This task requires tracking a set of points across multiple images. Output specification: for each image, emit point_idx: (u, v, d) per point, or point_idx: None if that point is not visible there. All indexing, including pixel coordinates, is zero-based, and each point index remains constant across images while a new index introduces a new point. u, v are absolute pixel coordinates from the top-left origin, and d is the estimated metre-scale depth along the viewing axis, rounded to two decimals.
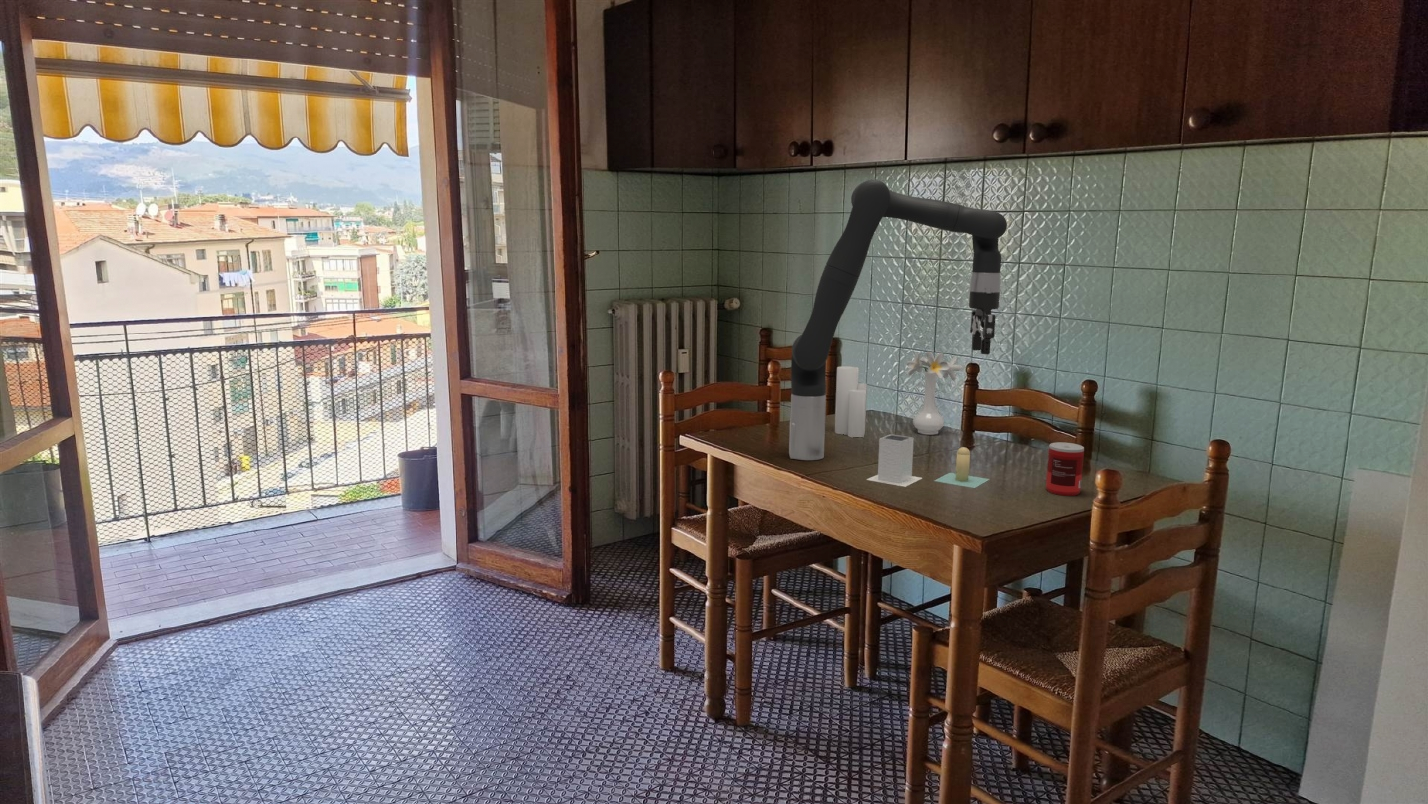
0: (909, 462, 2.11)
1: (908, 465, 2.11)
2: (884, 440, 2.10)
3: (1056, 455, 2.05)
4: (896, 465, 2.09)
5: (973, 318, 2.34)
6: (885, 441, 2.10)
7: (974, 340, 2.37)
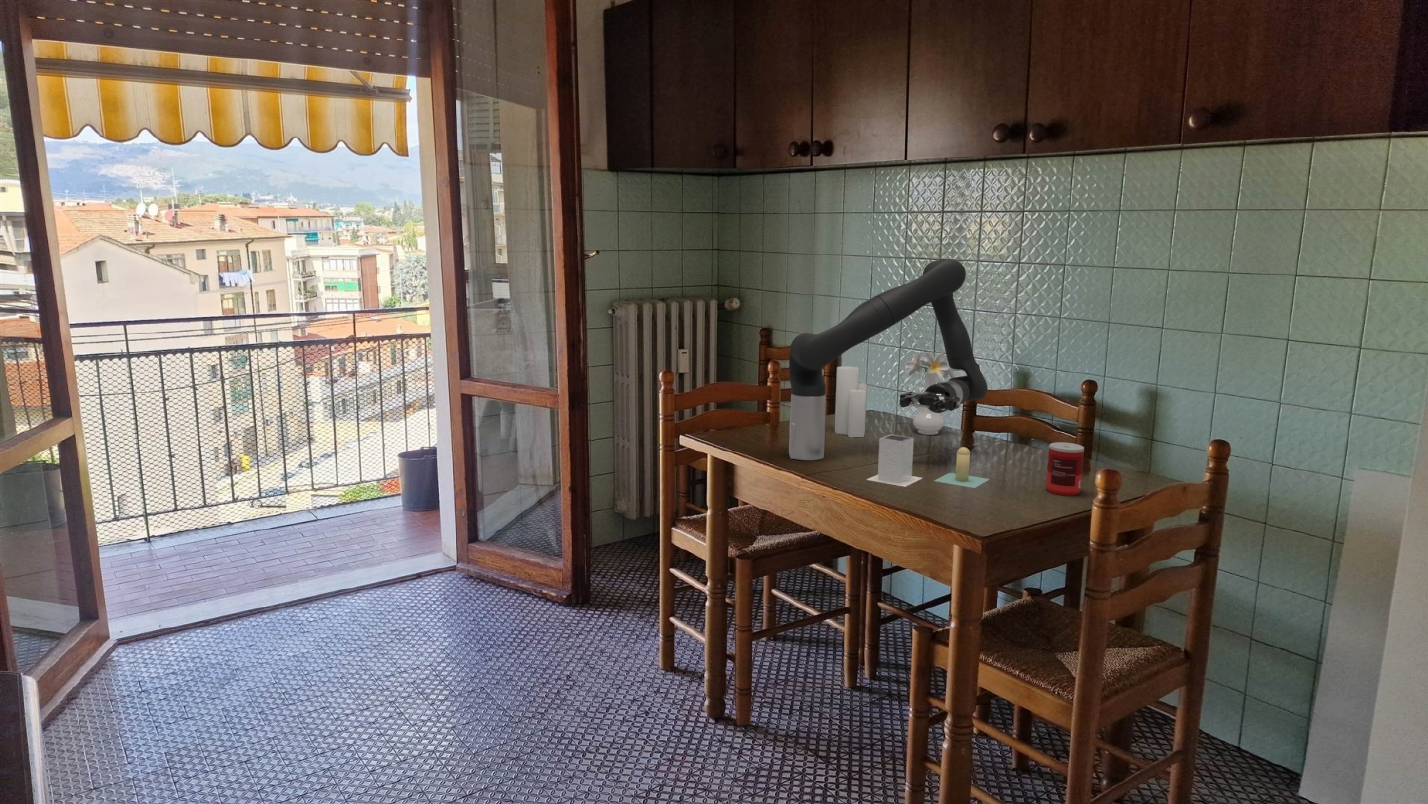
0: (909, 462, 2.11)
1: (908, 465, 2.11)
2: (884, 440, 2.10)
3: (1056, 455, 2.05)
4: (896, 465, 2.09)
5: (925, 392, 2.26)
6: (885, 441, 2.10)
7: (907, 399, 2.23)
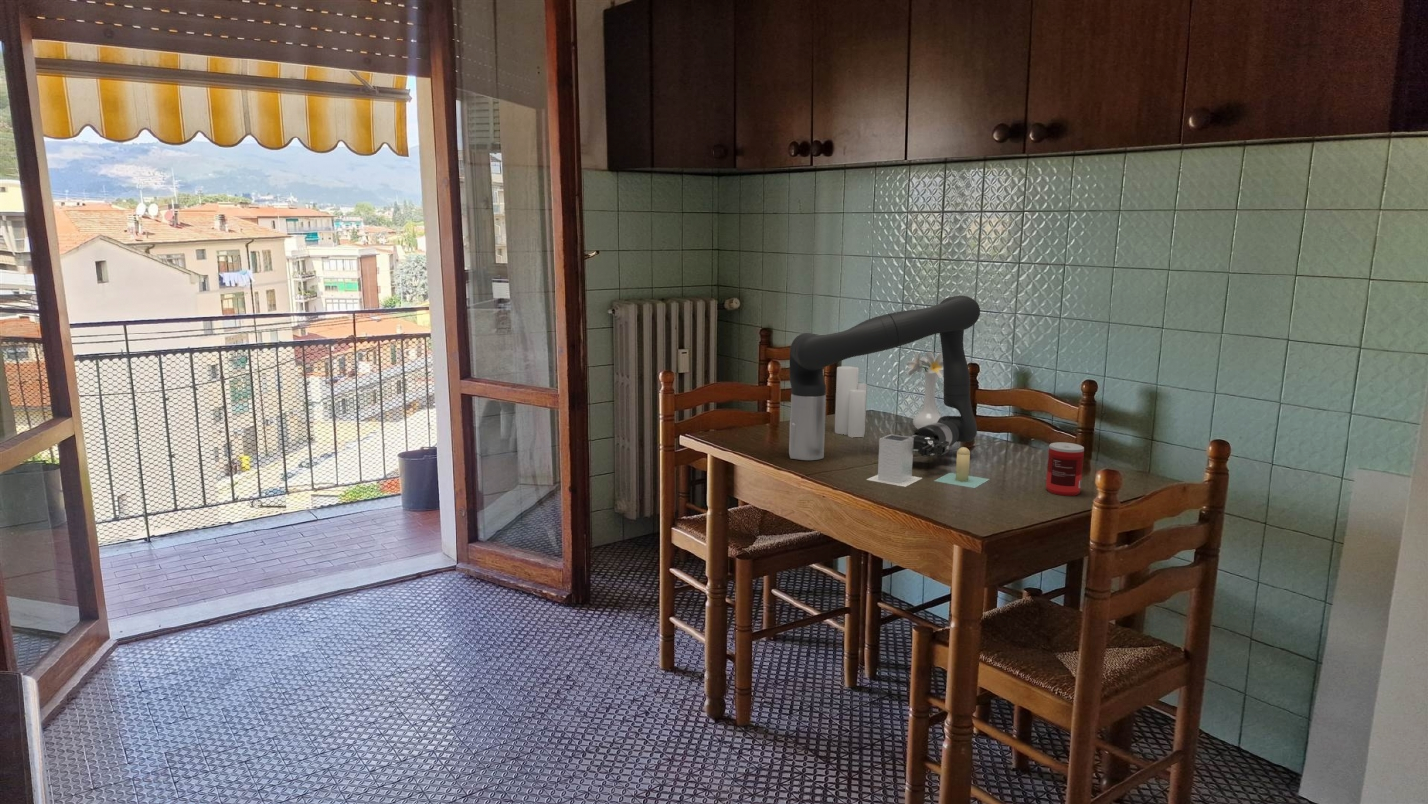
0: (909, 462, 2.11)
1: (908, 465, 2.11)
2: (884, 440, 2.10)
3: (1056, 455, 2.05)
4: (896, 465, 2.09)
5: (914, 435, 2.24)
6: (885, 441, 2.10)
7: None
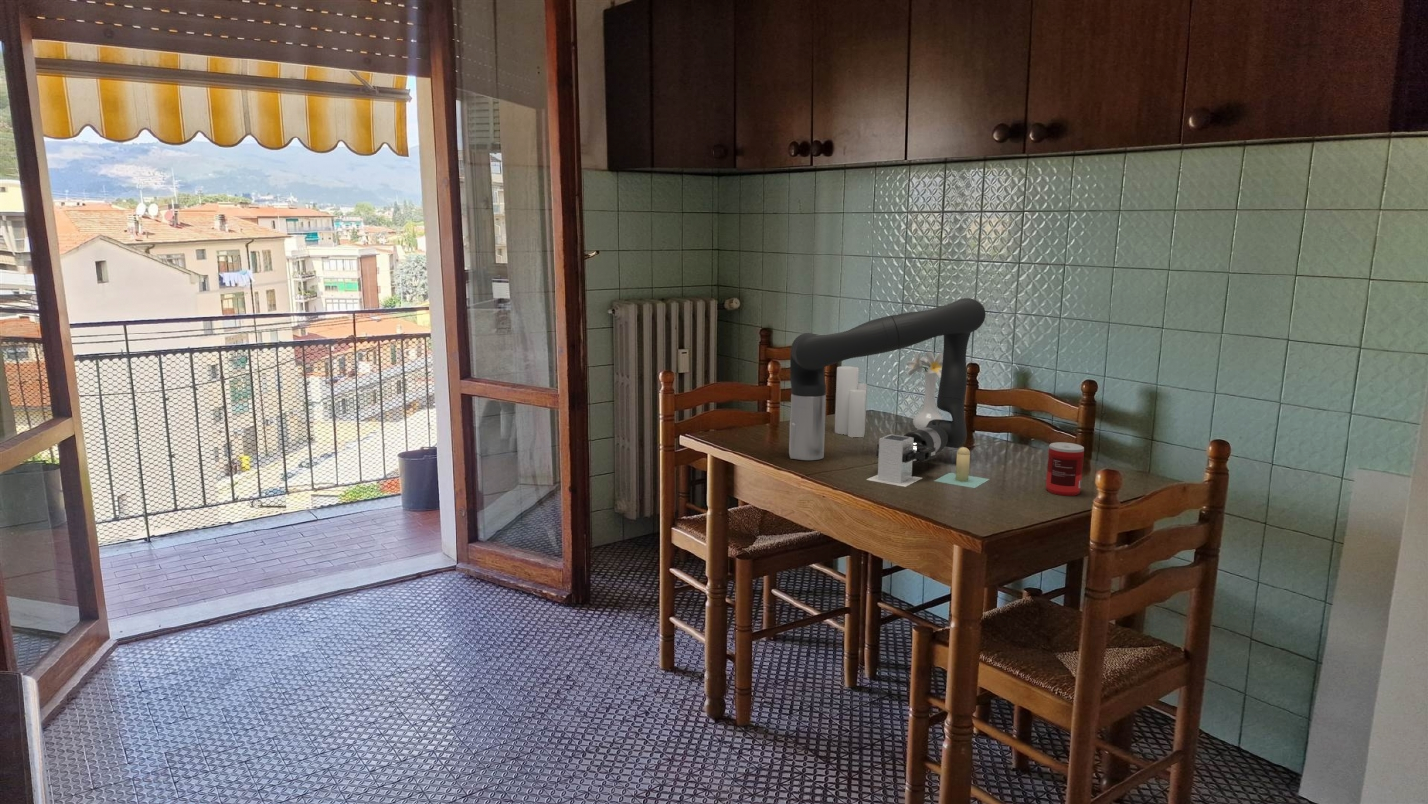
0: (909, 462, 2.11)
1: (908, 465, 2.11)
2: (884, 440, 2.10)
3: (1056, 455, 2.05)
4: (896, 465, 2.09)
5: None
6: (885, 441, 2.10)
7: None
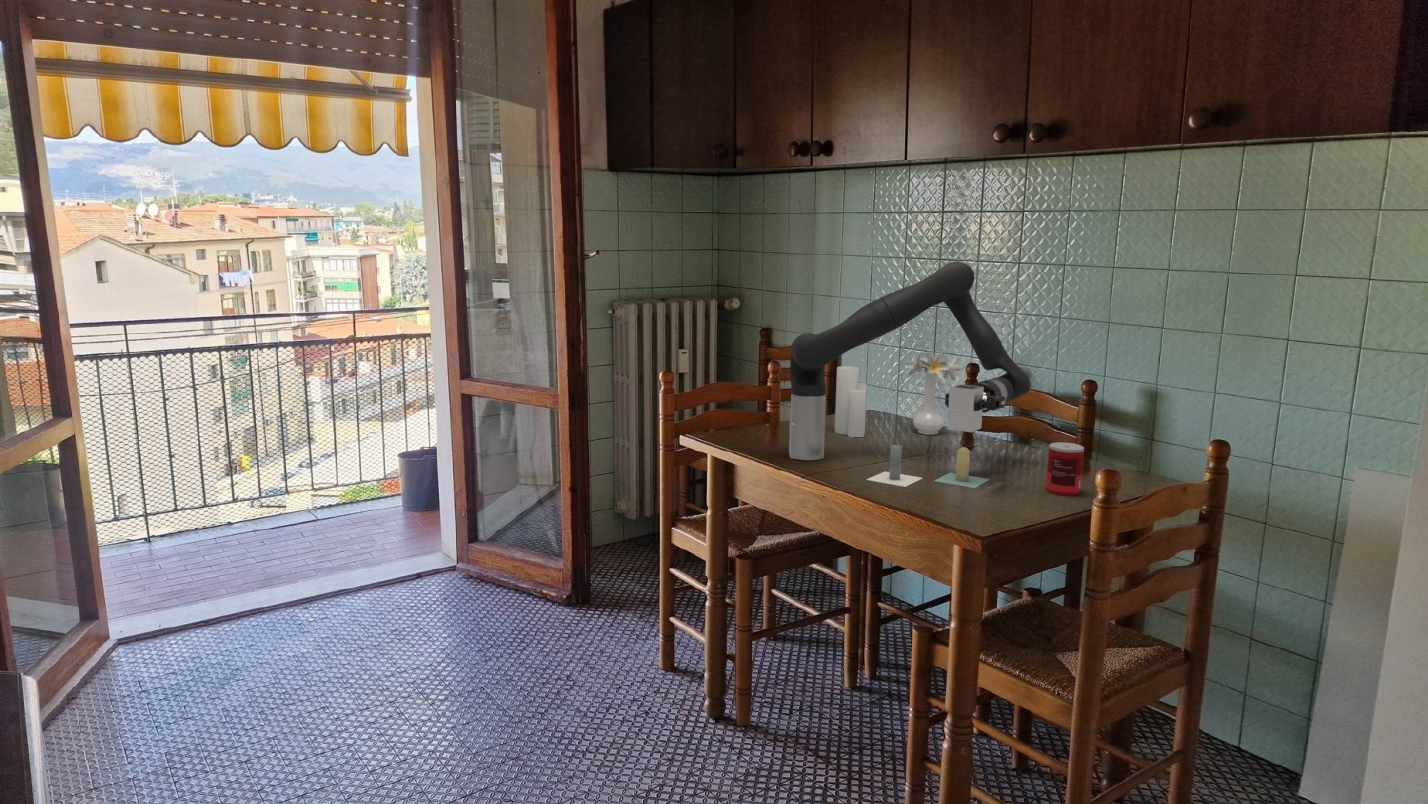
0: (979, 411, 2.09)
1: (978, 414, 2.08)
2: (954, 389, 2.07)
3: (1056, 455, 2.05)
4: (967, 414, 2.06)
5: None
6: (955, 390, 2.07)
7: None
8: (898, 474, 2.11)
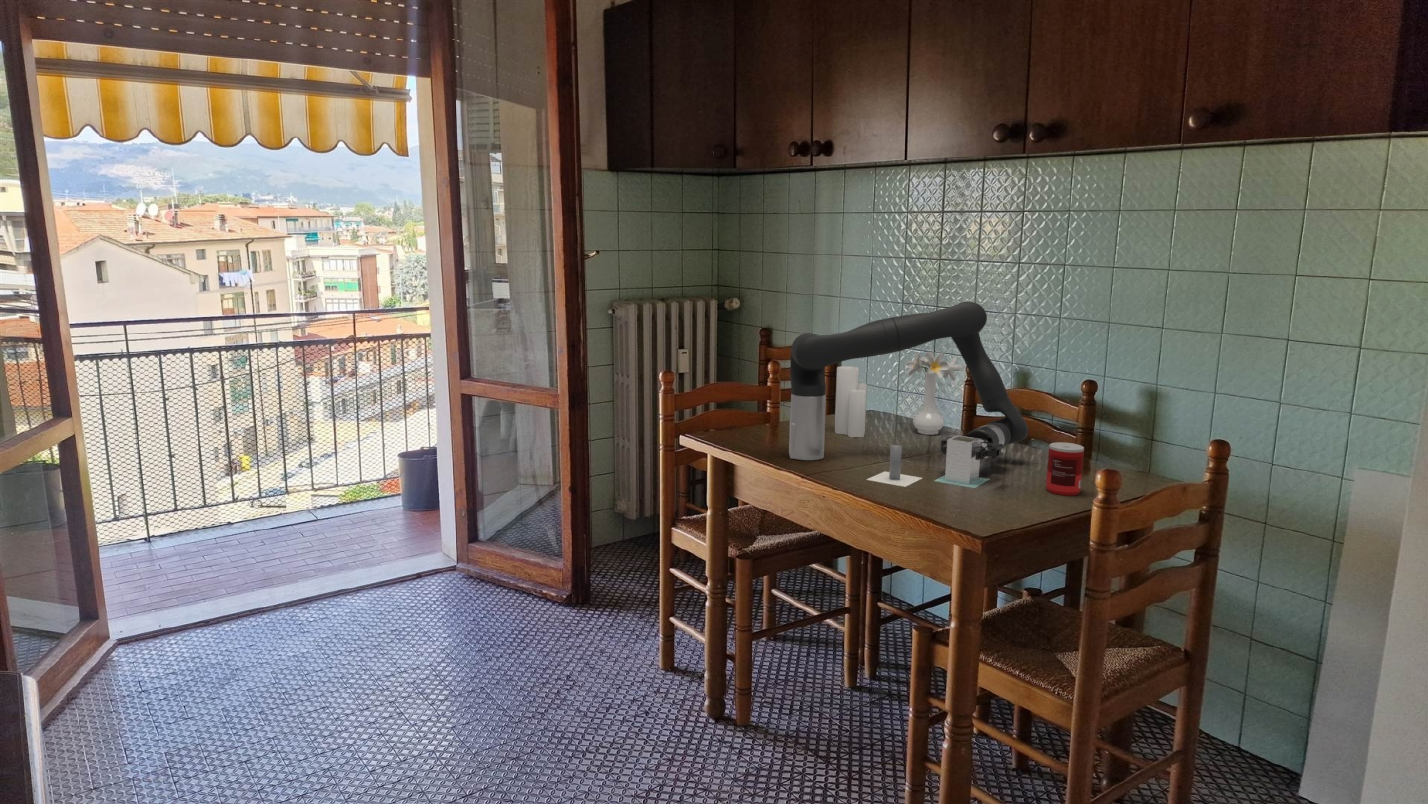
0: (977, 463, 2.11)
1: (976, 466, 2.11)
2: (952, 441, 2.09)
3: (1056, 455, 2.05)
4: (964, 466, 2.08)
5: None
6: (953, 442, 2.09)
7: None
8: (898, 474, 2.11)
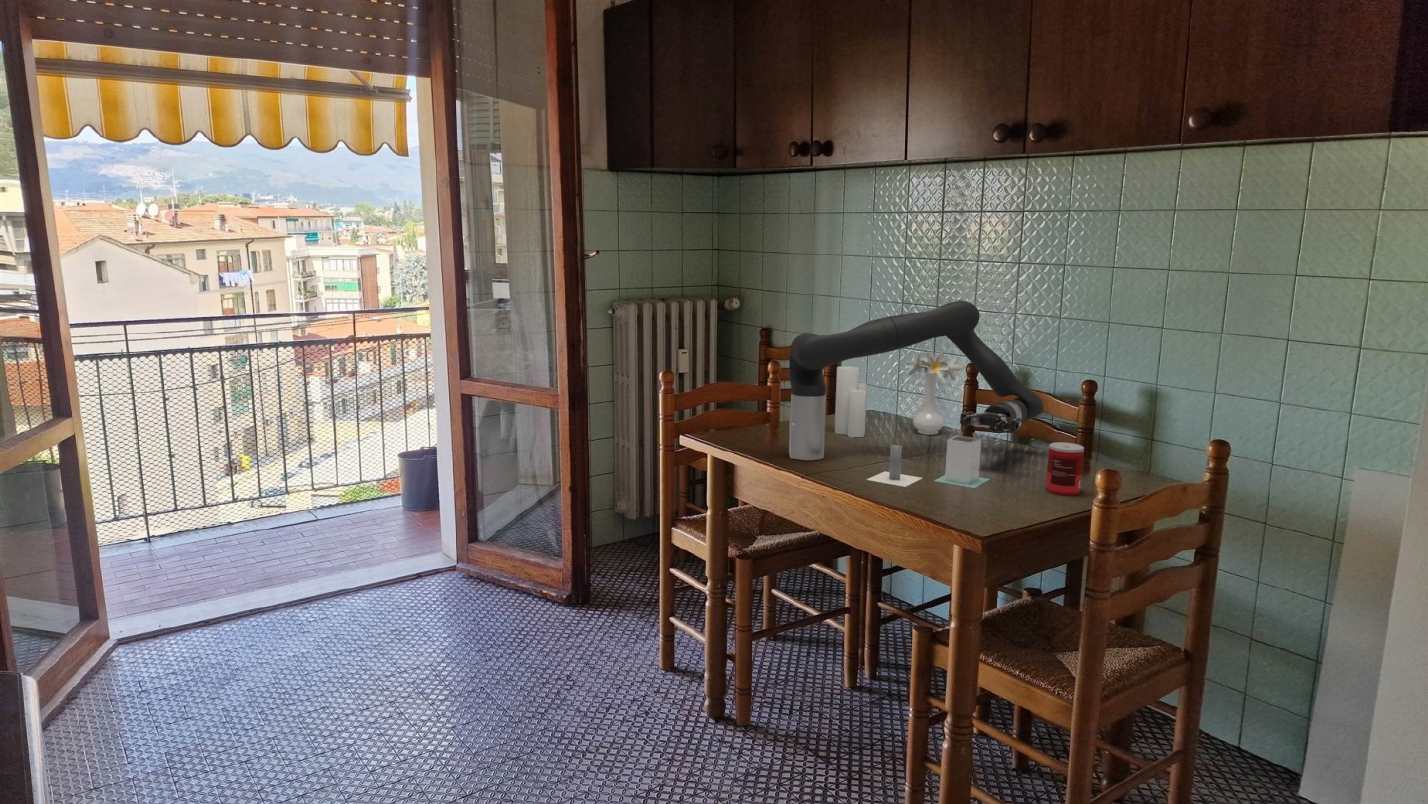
0: (977, 463, 2.11)
1: (976, 466, 2.11)
2: (952, 441, 2.09)
3: (1056, 455, 2.05)
4: (964, 466, 2.08)
5: (985, 411, 2.27)
6: (953, 442, 2.09)
7: (969, 418, 2.23)
8: (898, 474, 2.11)
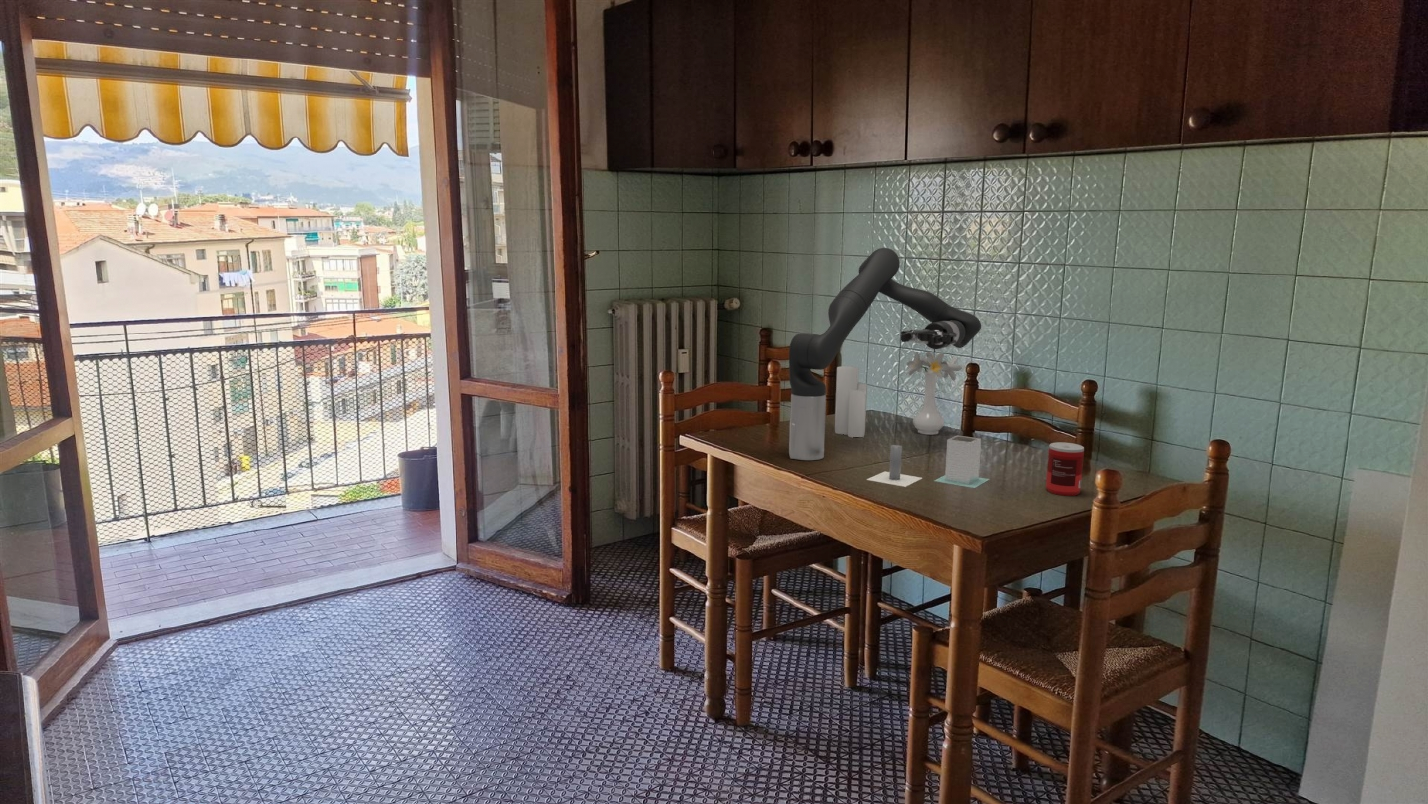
0: (977, 463, 2.11)
1: (976, 466, 2.11)
2: (952, 441, 2.09)
3: (1056, 455, 2.05)
4: (964, 466, 2.08)
5: (924, 329, 2.45)
6: (953, 442, 2.09)
7: (908, 334, 2.41)
8: (898, 474, 2.11)
